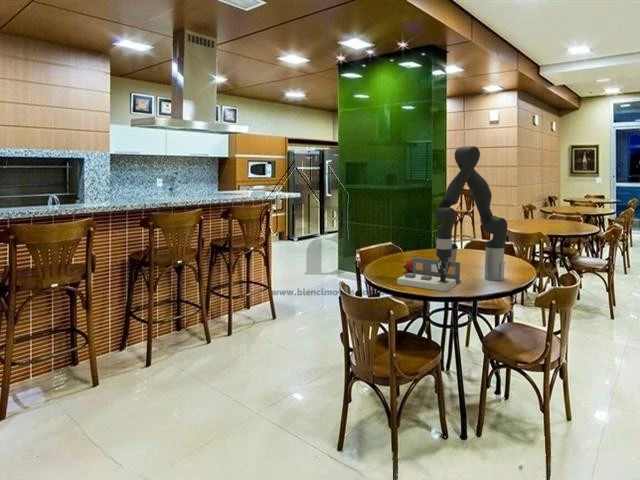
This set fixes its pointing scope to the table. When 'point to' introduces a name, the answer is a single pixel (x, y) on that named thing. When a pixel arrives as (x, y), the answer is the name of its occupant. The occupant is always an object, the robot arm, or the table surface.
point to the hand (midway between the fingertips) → (443, 281)
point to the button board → (427, 283)
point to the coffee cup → (453, 253)
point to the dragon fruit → (409, 266)
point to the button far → (410, 275)
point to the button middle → (426, 277)
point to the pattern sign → (435, 268)
